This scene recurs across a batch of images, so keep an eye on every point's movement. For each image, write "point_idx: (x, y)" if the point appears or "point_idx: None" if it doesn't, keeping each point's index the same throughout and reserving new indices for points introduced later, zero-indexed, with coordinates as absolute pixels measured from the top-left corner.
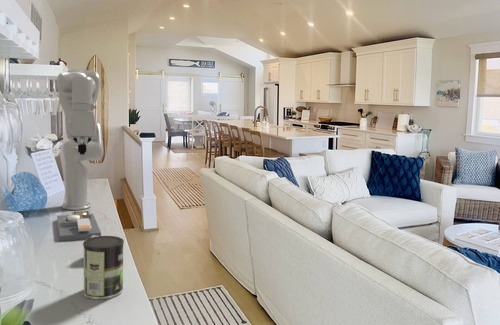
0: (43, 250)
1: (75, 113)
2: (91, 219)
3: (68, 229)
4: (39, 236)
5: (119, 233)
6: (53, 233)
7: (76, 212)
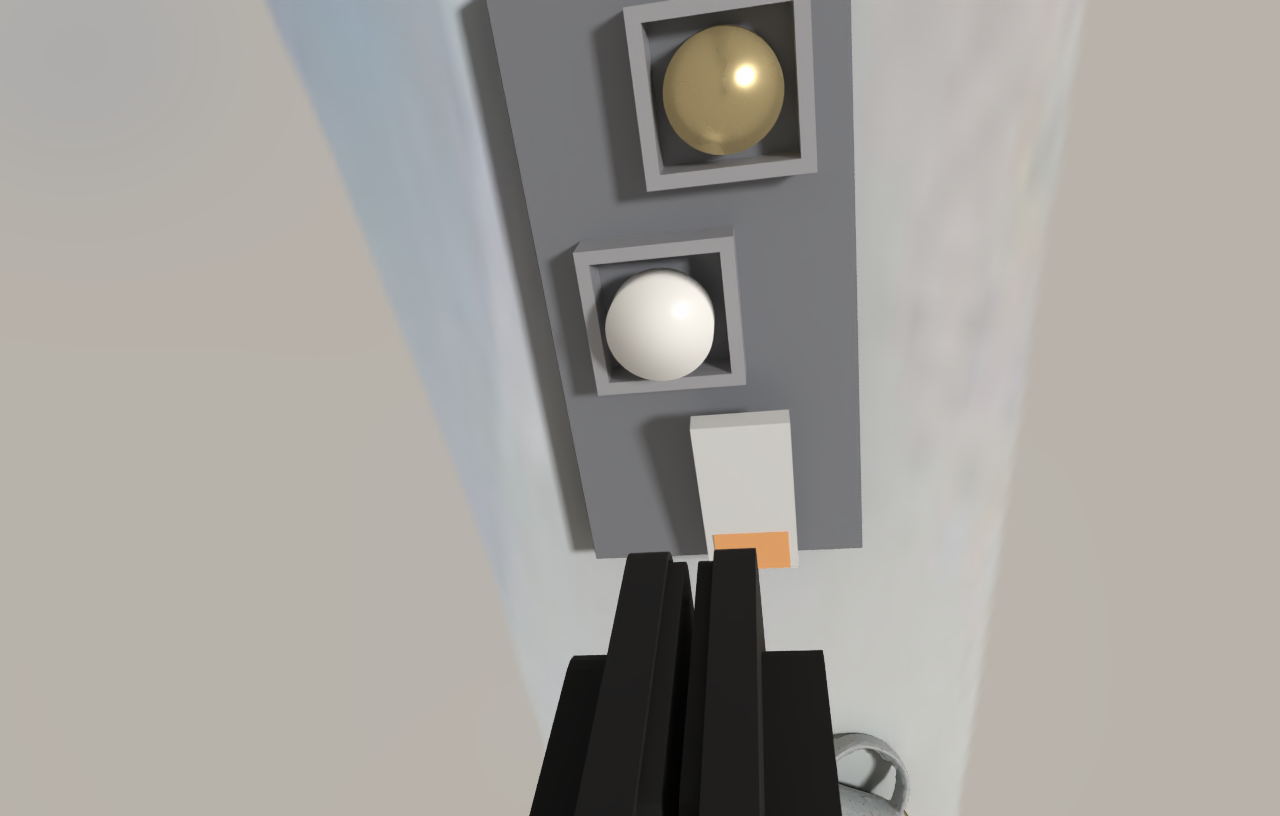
0: (537, 647)
1: None
2: (819, 183)
3: (636, 441)
4: (459, 421)
5: (1004, 461)
6: (536, 375)
7: (673, 71)
